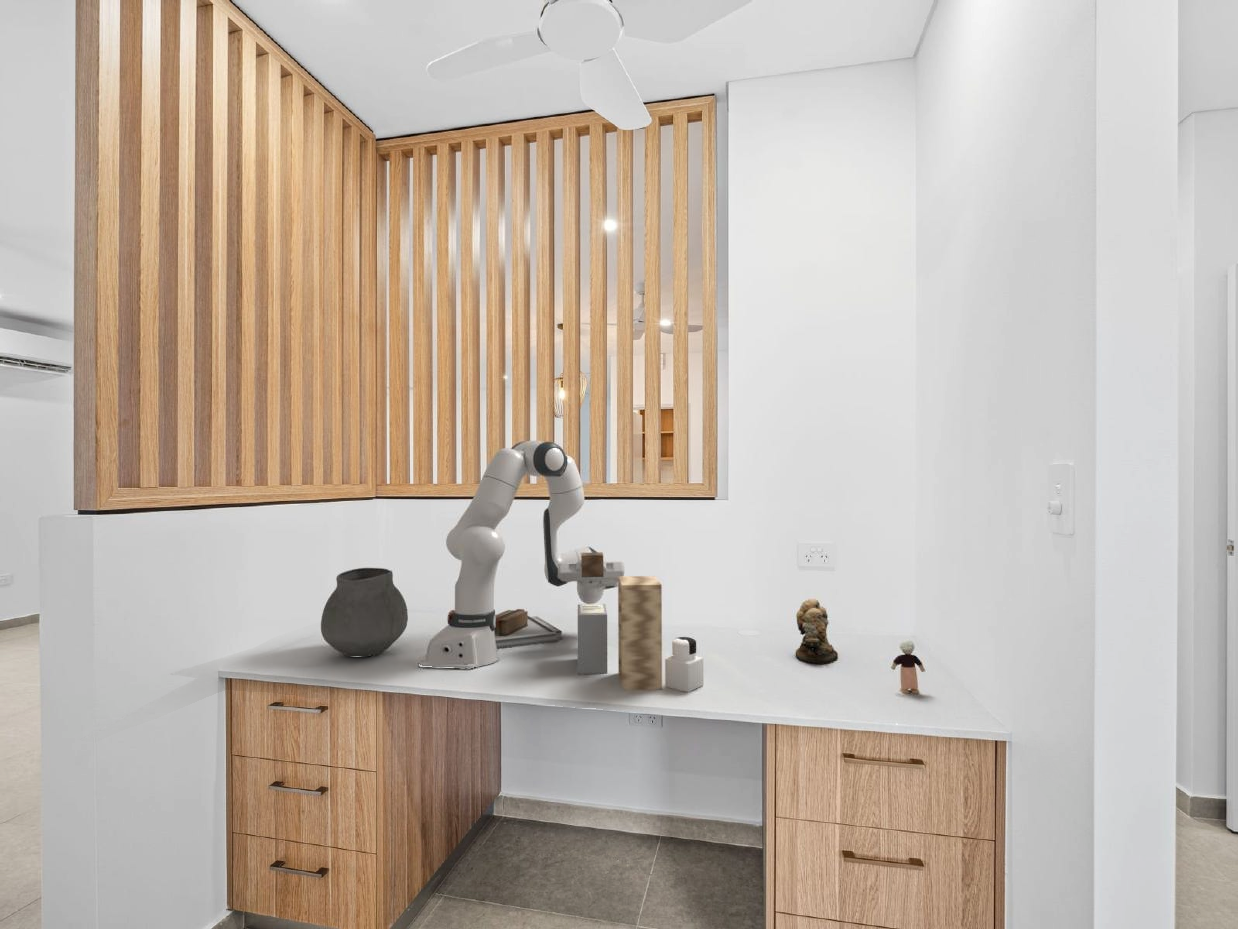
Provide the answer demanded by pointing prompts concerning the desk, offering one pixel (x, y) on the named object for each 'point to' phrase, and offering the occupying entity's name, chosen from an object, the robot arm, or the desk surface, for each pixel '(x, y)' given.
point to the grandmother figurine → (908, 667)
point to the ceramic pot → (364, 612)
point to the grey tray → (523, 630)
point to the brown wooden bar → (592, 564)
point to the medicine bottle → (684, 666)
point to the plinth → (592, 638)
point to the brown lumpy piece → (814, 634)
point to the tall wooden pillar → (640, 632)
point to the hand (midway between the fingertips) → (591, 561)
